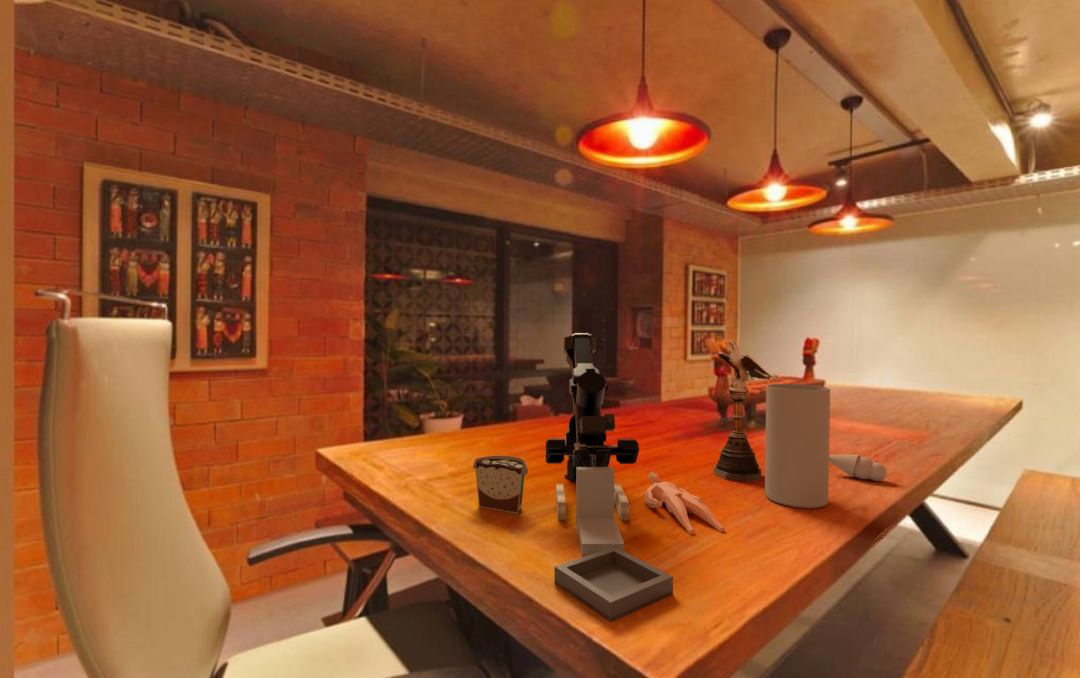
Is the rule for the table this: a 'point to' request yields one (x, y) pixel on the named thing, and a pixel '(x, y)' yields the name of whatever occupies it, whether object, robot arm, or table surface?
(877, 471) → the ice cream cone
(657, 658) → the table surface
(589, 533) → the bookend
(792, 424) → the cylinder vase
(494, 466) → the food container
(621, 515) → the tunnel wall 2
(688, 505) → the male figurine
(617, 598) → the tray
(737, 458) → the bird statue
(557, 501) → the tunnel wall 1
